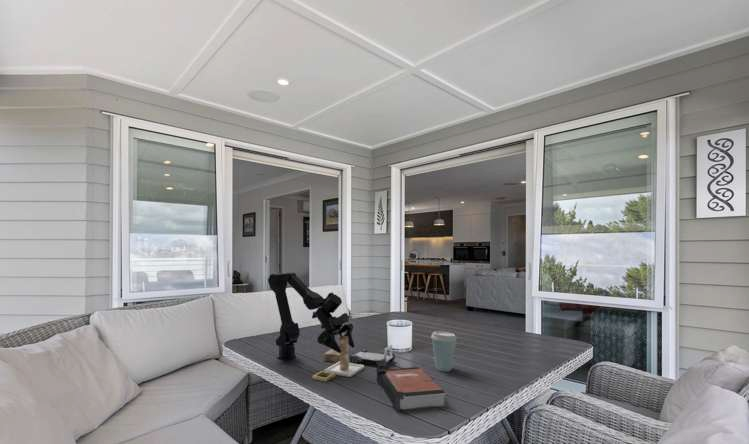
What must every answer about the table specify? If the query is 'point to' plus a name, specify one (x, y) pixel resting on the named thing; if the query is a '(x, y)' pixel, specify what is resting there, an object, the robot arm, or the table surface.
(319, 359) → the table surface
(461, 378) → the table surface
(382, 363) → the trolley
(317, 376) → the pin socket
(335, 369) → the tray
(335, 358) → the bar
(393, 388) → the book
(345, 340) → the pin
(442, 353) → the disposable coffee cup
